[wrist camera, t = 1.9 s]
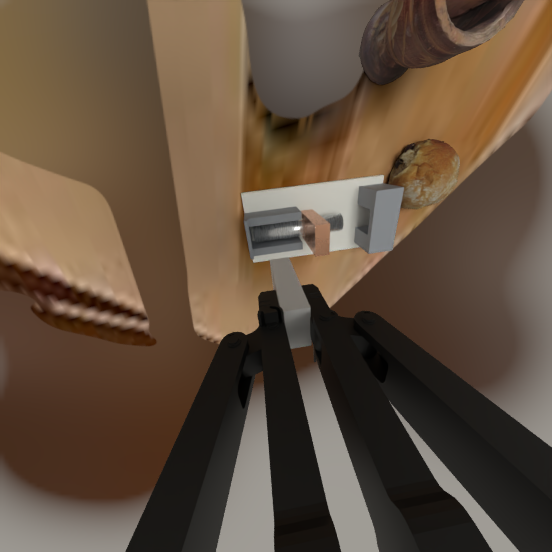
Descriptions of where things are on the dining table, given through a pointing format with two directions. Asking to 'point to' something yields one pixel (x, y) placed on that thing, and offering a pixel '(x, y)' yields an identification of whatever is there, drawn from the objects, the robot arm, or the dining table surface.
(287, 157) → the dining table surface
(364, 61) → the mortar and pestle
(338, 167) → the dining table surface
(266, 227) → the slip tube
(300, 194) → the guide base
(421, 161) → the bread roll
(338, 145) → the dining table surface
